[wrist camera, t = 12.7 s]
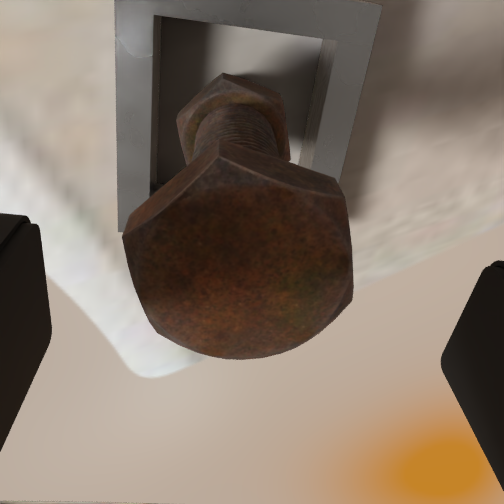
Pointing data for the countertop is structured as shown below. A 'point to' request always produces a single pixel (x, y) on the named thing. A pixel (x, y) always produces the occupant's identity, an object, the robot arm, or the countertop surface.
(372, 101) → the countertop surface
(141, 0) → the frame
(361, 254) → the countertop surface
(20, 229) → the robot arm
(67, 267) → the countertop surface
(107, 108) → the countertop surface
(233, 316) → the bolt
